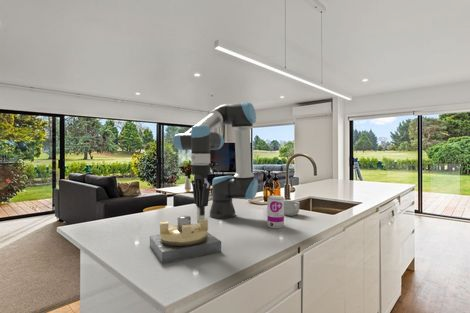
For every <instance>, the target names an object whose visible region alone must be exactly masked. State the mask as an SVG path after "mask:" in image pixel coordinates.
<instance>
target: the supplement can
mask: <svg viewBox="0 0 470 313" xmlns="http://www.w3.org/2000/svg"><path fill="white" fill-rule="evenodd" d="M266 200H267V203H266V205H267V206H266V210H267V211H266V212H267V213H266V214H267V215H266V218H267V219H266V220H267V221H266V222H267V223H266V224H267V226H268V227H269V228H271V229H281V228H283V227H284V226H285V215H284V201H285V199H284V197H283V195H277V194H276V195H275V194H273V195H272V194H271V195H268V197H267V199H266Z"/></svg>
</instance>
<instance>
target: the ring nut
mask: <svg viewBox="0 0 470 313" xmlns="http://www.w3.org/2000/svg"><path fill="white" fill-rule="evenodd" d="M176 219H177V220H176V221H177V224H172V225H169V221H168V220H167V221H159V235H160V241H161V242H162V243H164V244H167V245H172V246H186V245H193V244H198V243H201V242H203V241H205V240H206V239H207V238H208V233H209V231H208V229H209V219H208V218H207V217H205V218H199V224H198V223H191V222H192V218H191V216H190V215H178V216H177V218H176Z"/></svg>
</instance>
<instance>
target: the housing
mask: <svg viewBox="0 0 470 313" xmlns="http://www.w3.org/2000/svg"><path fill="white" fill-rule="evenodd" d="M149 247H150V249H151V250H152V251H153V253H154V255H155V256H156V257H157V258H158V261H160V263H161V264H162V265H164V264H169V263H174V262H179V261H183V260H188V259H194V258H198V257H203V256H207V255H208V256H209V255H213V254H218V253H222V241H221V240H220V239H219V238H217V237H215V236H213V235H212V234H210V233H209V232H208V238H207V239H206V240H205V241H203V242H201V243H198V244H193V245H186V246H172V245H167V244H164V243H162V242H161V241H160V234H155V235H154V234H153V235H149Z"/></svg>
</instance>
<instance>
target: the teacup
mask: <svg viewBox="0 0 470 313" xmlns="http://www.w3.org/2000/svg"><path fill="white" fill-rule="evenodd" d="M299 212H300V201H296V200H284V216H290V217H292V216H293V217H294V216H297V215H298V214H299Z"/></svg>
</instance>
